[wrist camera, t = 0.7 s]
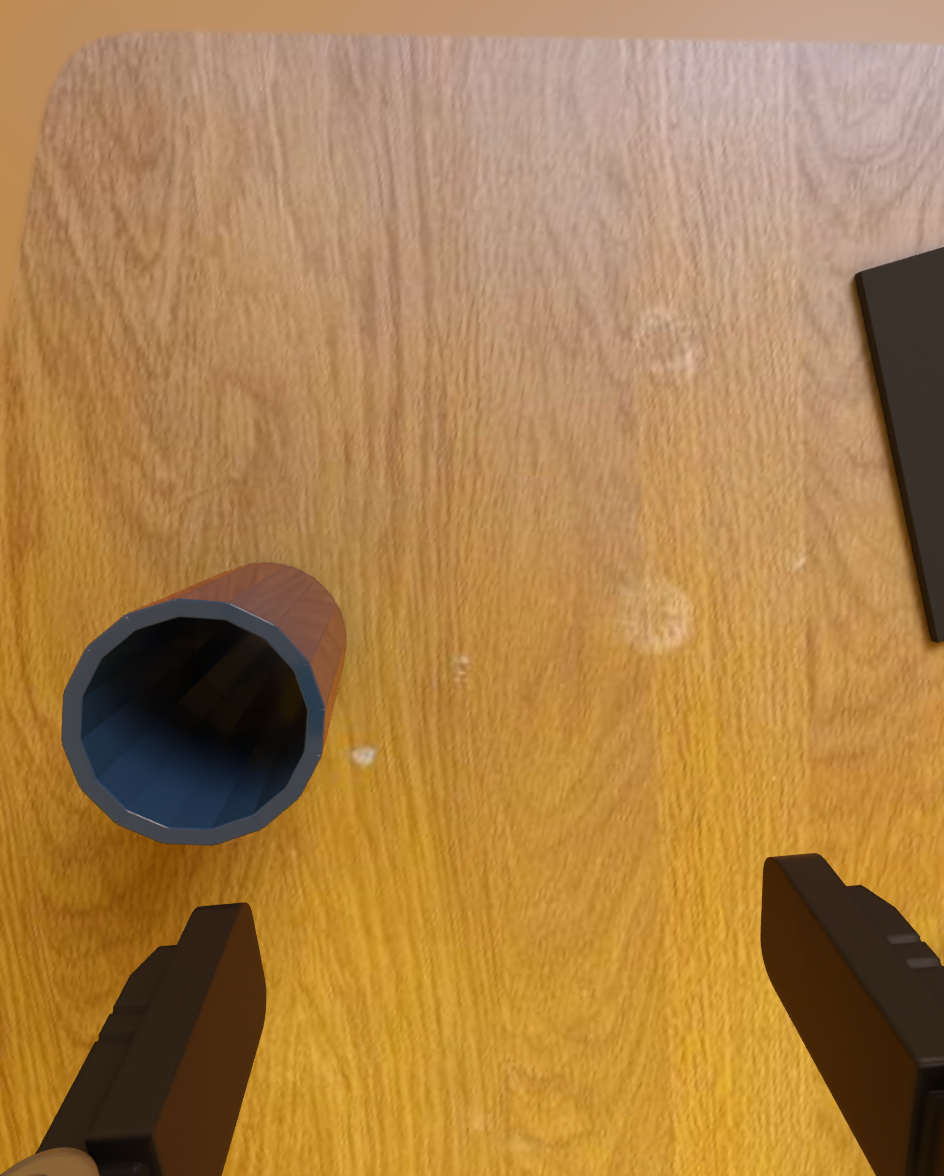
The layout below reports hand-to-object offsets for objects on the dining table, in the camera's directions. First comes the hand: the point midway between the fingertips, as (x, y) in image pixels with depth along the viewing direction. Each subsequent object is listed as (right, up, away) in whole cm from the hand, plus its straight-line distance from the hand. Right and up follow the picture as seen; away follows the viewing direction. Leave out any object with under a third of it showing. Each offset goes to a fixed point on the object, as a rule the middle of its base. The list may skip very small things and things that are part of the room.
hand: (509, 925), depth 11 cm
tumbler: (-9, +3, +17) cm, 19 cm away
